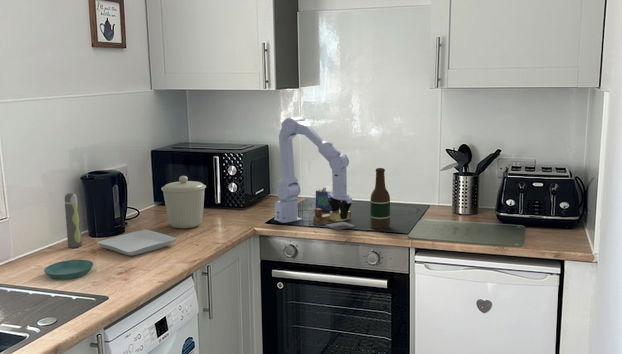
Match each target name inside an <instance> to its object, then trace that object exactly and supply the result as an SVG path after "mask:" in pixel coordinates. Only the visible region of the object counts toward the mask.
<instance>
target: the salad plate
mask: <svg viewBox="0 0 622 354" xmlns="http://www.w3.org/2000/svg"><path fill="white" fill-rule="evenodd" d="M177 240H178V238H177V237H174V236H172V235H168V234H164V233H160V232H157V231H154V230H150V229H149V230H148V229H146V228H145V229H144V228H143V229H141V230H136V231H133V232H129V233H126V234H125V233H124V234H122V235H118V236H117V235H116V236H113V237H110V238H107V239H106V238H105V239H103V240H99V241H97V242H96V243H97V245H99V246H100V247H102V248H104V249H108V250H110V251H114V252H117V253H120V254H123V255H126V256H129V257H130V256H131V257H132V256H133V257H134V256H137V255H141V254H145V253H149V252H153V251H156V250H159V249H163V248H165V247H168V246H171V245H172V244H174V243H176V242H177Z"/></svg>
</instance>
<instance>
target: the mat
mask: <svg viewBox="0 0 622 354" xmlns="http://www.w3.org/2000/svg"><path fill="white" fill-rule="evenodd" d="M324 227H326V228H330V229H332V230H335V231H340V230H347V229H351V228H356V225H354V224H352V223H348V222H345V221H338V222H333V223H327V224H324Z"/></svg>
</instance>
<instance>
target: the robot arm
mask: <svg viewBox="0 0 622 354" xmlns="http://www.w3.org/2000/svg"><path fill="white" fill-rule="evenodd" d="M280 125H281V127H280V128H281V129H280V131H279V134H278V140H279V141H278V143H279V158H280V170H281V171H280V173H281V178H280V179H279V181H278V183H277V186H278V187H277V190H276V195H277V197H278V198H279V200H277V201H275V202H274V218H273V219H274V220H275V221H277V222H279V223H281V224H284V223H291V222H298V221H302V220H303V218H301V217H299V214H298V213H299V212H298V210H299V209H298V206H299V205H298V204H299V203H298V202H299V201H298V199H299V195H300V194H301V186H300V184H299V180H298V178H297V177H296V176H295V163H294V162H295V161H294V149H293V147H294V146H293V139H294V138H295V137H296V136H298V135H304V136H305V137H306V138H307V139H308V140H310V141H311V142H312V143H313V144H314V145H315V146H316V147H317V149H318V150H317V151H318V153H319V154H320V155H321V156H322V157H323V158H324V159H325V160H326V161H327V162H328V165H329V168H330V169H331V175H332V177H331V180H332V181H331V182H332V191H333V193H332V192H331V193H328V198H331V199H330V200H328V202H329V204H330V206H331V209H332V211H337V210H340V213H341V219H346V218H347V214H348V211H350V209H351V206H352V205H353V197H350V194H348V190H347V189H348V187H347V186H348V185H347V184H348V183H347V182H348V181H347V180H348V179H347V178H348V176H347V175H348V174H347V170H348V169H347V167H348V166H349V164H350V160H349V157H348V155H347V154H344V153H342V152H341V151H339V150H337V148H335V146H333V145H334V144H333V142H330V141H325V140H324V139H323V138H322V137H321V136H320V135H319V133H317V131H316V130H315V129H314V128H313V127H312V125H311V124H310V122H309V121H308V120H306V118H305V117H303V116H296V117H287V118H285V119H284V120H283V121H282V122H281V123H280Z"/></svg>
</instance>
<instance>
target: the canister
mask: <svg viewBox="0 0 622 354" xmlns="http://www.w3.org/2000/svg"><path fill="white" fill-rule="evenodd" d="M188 179H189V178H188V176H186V175H181V176H179V178H178V181H174V182H169V183H167V184H165V185H164V186H162V187H161V191H162V192H163V198H164V199H163V200H164V205H165V210H166V214H167V215H166V216H167V219H168V223H169V225H170V226H171V227H172V228H175V229H182V230H183V229H192V228H196V227H198V226H200V225H201V224H202V223H203V222H202V221H203V217H204V205H205V204H204V202H205V189H206V188H207V185H206V184H204V183H202V182H201V181H193V180H188Z"/></svg>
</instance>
